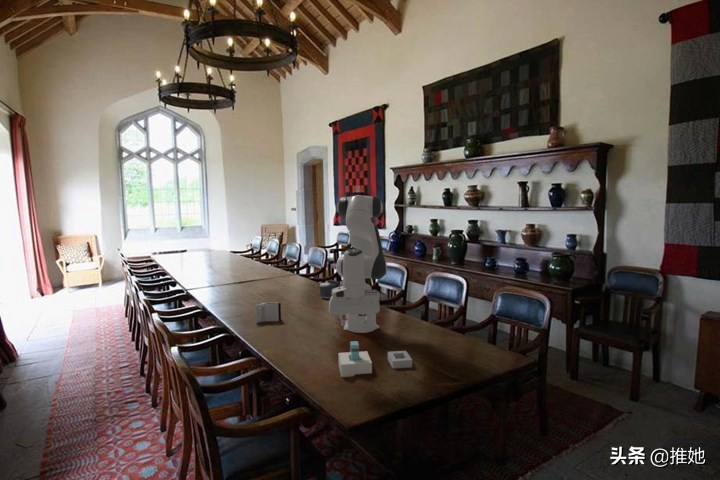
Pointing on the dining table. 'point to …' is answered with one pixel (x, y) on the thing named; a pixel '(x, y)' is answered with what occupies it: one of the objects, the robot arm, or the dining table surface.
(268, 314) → the hinge
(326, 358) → the dining table surface
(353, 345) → the plug
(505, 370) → the dining table surface
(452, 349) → the dining table surface
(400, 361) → the holster
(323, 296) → the dark grey block
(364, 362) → the port block
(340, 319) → the robot arm
